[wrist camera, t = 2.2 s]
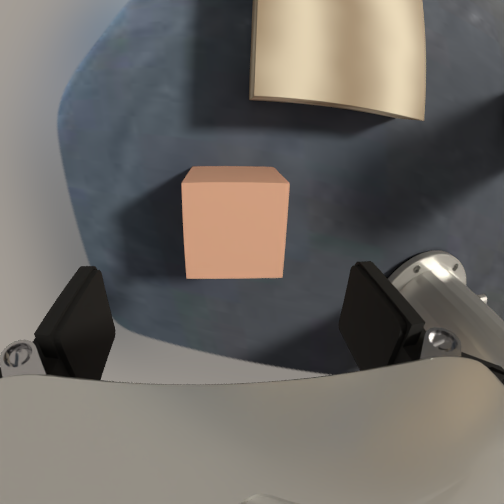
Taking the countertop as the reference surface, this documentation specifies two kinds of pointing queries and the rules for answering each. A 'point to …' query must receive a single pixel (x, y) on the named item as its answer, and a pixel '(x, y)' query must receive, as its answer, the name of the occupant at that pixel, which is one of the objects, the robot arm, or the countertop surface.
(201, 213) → the cube
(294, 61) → the base
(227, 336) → the countertop surface
